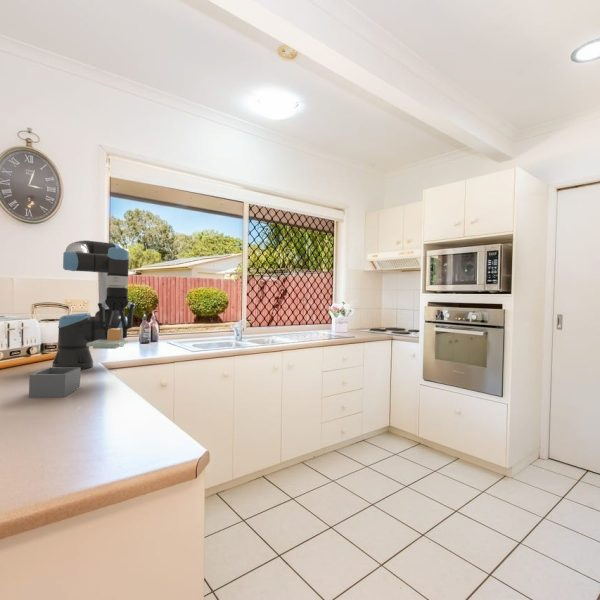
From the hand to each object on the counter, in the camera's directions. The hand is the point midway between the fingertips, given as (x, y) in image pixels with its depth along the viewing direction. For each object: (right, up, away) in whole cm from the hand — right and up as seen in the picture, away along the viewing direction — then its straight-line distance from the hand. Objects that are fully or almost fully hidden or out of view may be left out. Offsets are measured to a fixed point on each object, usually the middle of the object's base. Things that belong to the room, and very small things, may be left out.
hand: (115, 346), depth 145 cm
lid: (+1, +1, -6) cm, 6 cm away
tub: (-7, -12, -25) cm, 29 cm away
